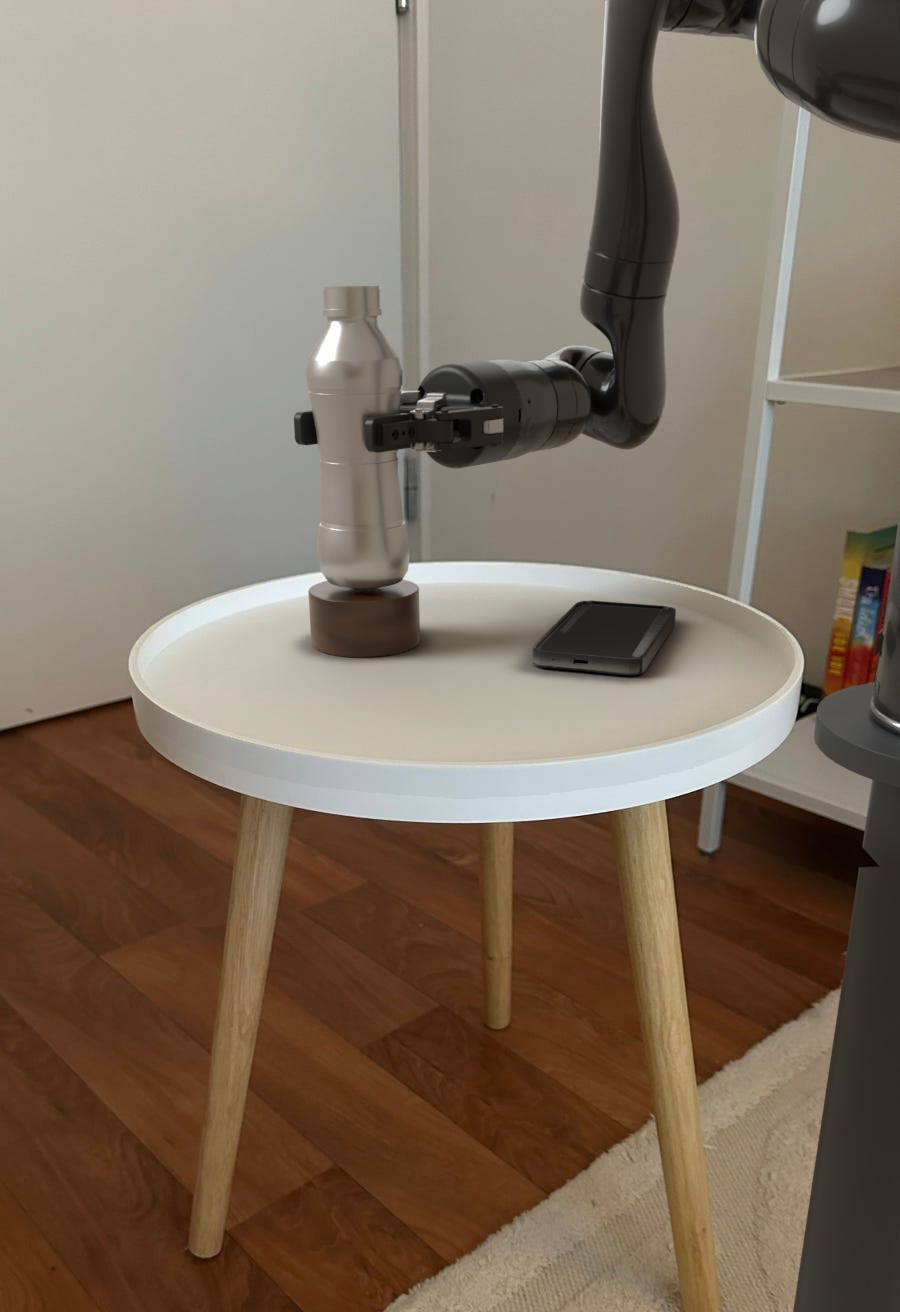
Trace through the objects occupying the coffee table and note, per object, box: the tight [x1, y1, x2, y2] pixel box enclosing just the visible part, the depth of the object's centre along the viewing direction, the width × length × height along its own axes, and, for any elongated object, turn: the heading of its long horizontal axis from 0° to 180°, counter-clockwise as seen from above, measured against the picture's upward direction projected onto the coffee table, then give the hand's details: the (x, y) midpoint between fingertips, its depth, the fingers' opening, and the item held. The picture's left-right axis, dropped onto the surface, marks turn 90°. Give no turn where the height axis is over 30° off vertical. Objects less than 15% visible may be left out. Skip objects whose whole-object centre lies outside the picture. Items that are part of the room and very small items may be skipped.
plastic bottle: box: [305, 285, 411, 590], centre depth 80 cm, size 6×7×20 cm
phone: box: [531, 600, 677, 676], centre depth 84 cm, size 8×1×15 cm
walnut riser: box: [308, 578, 421, 658], centre depth 85 cm, size 8×8×4 cm
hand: (333, 432), depth 78 cm, fingers closed on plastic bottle, 6 cm apart
